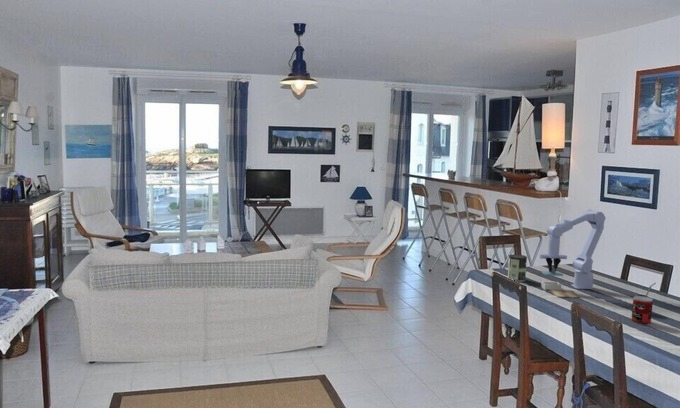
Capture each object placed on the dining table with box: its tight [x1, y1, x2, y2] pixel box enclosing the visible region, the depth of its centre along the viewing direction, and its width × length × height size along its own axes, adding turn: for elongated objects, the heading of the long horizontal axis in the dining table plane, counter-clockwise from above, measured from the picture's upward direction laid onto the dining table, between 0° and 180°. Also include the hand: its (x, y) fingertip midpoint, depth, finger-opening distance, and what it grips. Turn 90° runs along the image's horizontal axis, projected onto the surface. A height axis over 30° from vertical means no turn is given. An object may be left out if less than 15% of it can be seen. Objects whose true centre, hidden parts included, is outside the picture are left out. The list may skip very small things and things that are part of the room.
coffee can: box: [507, 254, 528, 283], centre depth 333 cm, size 10×10×14 cm
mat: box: [549, 289, 581, 299], centre depth 303 cm, size 12×12×1 cm
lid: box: [541, 266, 564, 277], centre depth 314 cm, size 10×7×4 cm
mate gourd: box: [635, 282, 657, 298], centre depth 274 cm, size 8×8×15 cm
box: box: [540, 280, 562, 291], centre depth 315 cm, size 9×6×3 cm, turn 89°
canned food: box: [631, 295, 654, 325], centre depth 260 cm, size 8×8×11 cm
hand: (552, 271), depth 314 cm, fingers closed on lid, 2 cm apart
